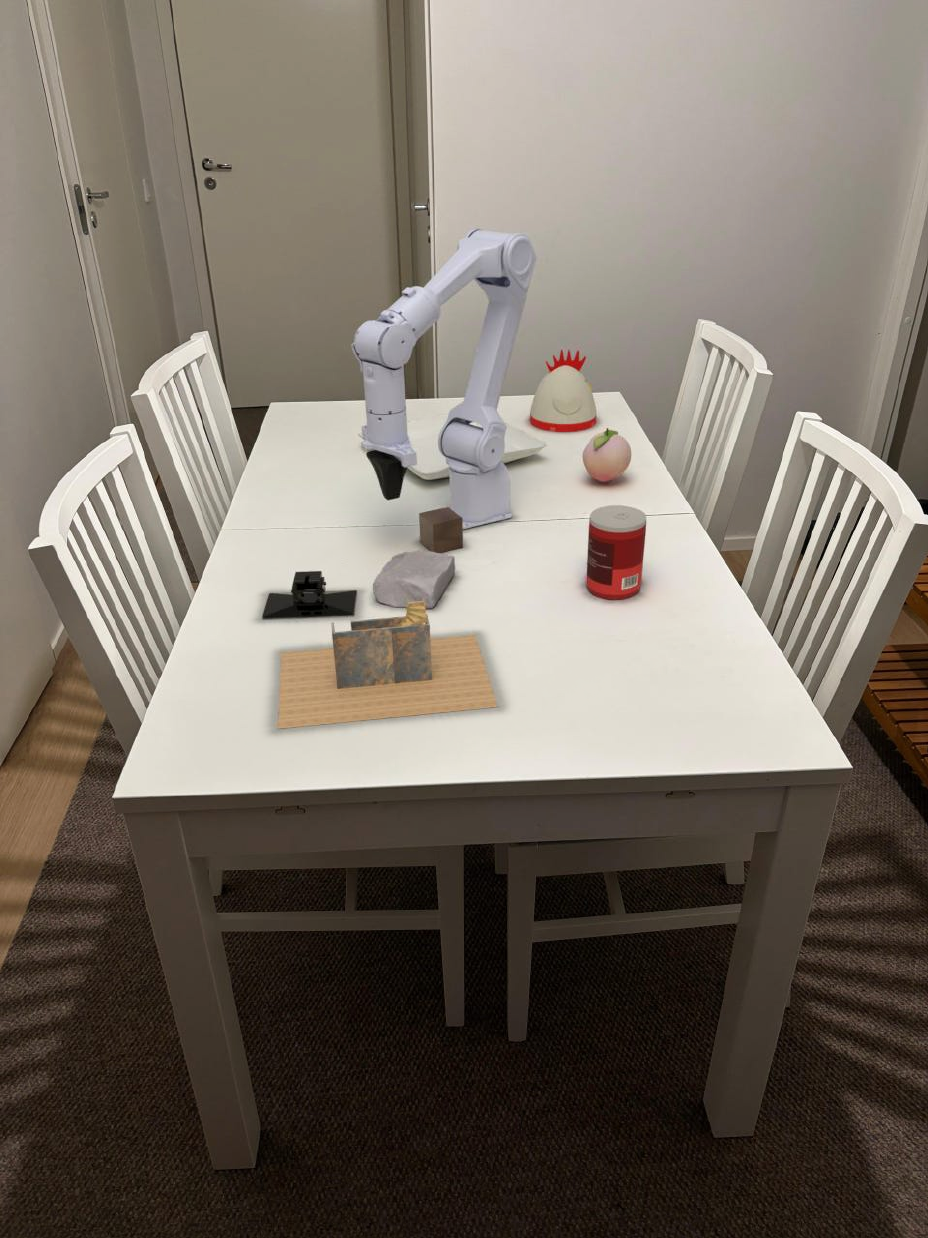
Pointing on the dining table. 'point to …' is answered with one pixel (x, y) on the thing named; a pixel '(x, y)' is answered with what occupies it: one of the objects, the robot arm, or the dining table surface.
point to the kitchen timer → (564, 398)
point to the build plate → (310, 599)
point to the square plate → (434, 462)
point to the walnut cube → (441, 530)
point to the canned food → (615, 551)
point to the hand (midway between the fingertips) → (391, 497)
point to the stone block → (414, 578)
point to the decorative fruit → (607, 456)
